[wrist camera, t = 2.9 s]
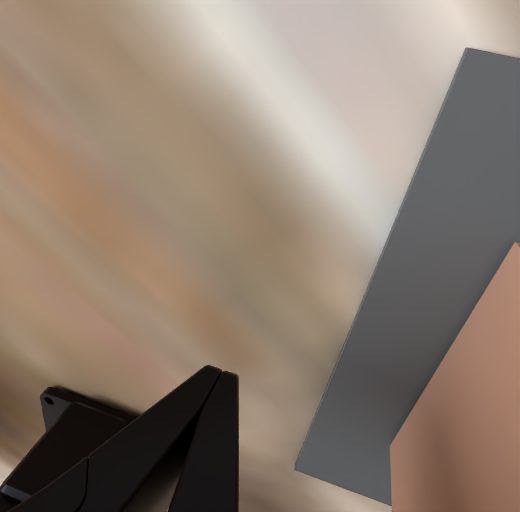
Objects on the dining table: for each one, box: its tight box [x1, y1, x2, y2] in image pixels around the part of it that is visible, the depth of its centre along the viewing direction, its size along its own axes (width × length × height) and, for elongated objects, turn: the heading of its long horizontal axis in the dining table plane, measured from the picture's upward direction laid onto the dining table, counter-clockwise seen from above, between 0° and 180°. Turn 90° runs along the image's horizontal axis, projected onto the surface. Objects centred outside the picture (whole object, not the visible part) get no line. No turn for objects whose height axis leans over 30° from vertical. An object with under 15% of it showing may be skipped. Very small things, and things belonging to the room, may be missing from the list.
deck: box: [390, 242, 520, 512], centre depth 9 cm, size 9×2×7 cm, turn 169°
